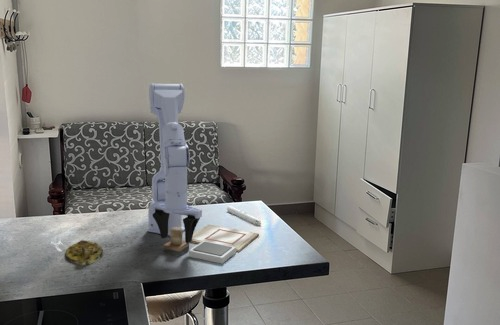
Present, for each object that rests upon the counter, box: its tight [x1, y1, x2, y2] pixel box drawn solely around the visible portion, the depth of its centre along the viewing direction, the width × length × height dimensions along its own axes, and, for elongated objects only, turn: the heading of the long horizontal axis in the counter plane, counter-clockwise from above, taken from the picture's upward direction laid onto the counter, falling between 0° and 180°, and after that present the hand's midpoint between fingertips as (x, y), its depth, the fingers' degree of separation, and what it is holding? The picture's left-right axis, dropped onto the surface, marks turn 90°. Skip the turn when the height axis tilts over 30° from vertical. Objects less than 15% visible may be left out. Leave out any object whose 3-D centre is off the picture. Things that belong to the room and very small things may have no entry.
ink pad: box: [188, 241, 237, 264], centre depth 131 cm, size 10×8×2 cm
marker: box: [226, 205, 262, 226], centre depth 161 cm, size 18×2×2 cm, turn 36°
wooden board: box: [190, 224, 260, 252], centre depth 143 cm, size 17×14×1 cm
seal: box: [65, 240, 104, 266], centre depth 129 cm, size 9×5×15 cm
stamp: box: [163, 227, 190, 256], centre depth 132 cm, size 5×5×6 cm
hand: (176, 239), depth 132 cm, fingers open, 7 cm apart
